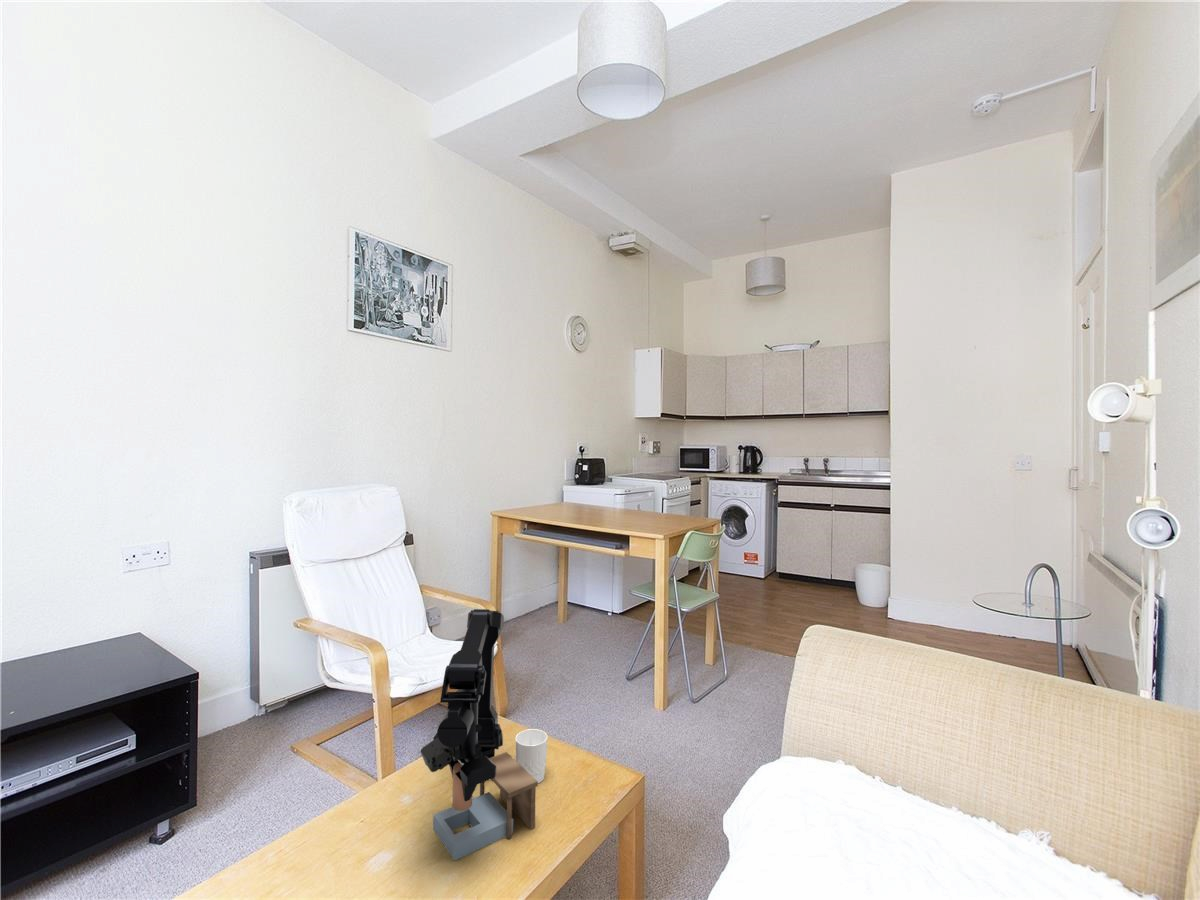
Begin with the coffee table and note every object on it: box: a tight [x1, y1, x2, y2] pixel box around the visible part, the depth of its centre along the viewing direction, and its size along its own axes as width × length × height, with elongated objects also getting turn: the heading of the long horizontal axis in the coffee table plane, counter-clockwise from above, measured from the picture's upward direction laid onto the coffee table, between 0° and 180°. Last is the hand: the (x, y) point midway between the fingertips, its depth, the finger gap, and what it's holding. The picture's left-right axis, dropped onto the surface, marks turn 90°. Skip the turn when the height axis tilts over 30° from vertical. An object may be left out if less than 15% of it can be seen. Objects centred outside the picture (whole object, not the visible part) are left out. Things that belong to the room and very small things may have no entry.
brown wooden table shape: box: [479, 751, 539, 840], centre depth 120 cm, size 14×7×10 cm, turn 38°
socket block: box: [432, 791, 514, 861], centre depth 115 cm, size 11×13×3 cm
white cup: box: [514, 728, 548, 784], centre depth 135 cm, size 8×8×10 cm
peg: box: [451, 762, 473, 811], centre depth 114 cm, size 4×4×8 cm
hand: (462, 794), depth 114 cm, fingers closed on peg, 4 cm apart
